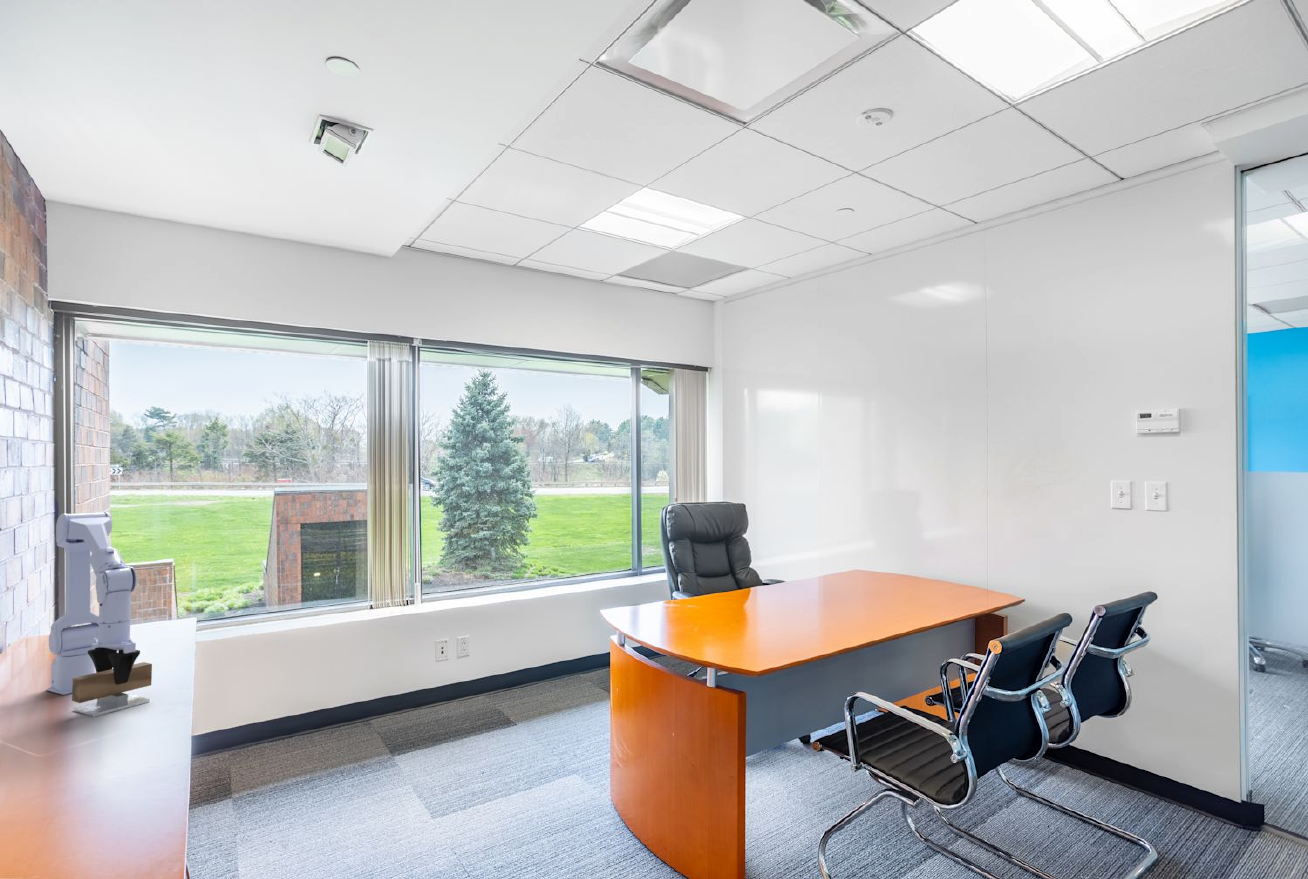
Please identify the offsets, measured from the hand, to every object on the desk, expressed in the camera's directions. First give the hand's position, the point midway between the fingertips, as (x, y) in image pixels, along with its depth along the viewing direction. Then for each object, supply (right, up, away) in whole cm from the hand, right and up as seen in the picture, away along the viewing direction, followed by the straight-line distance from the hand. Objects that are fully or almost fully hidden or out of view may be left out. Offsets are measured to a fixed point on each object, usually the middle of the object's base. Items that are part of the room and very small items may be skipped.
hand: (112, 681), depth 155 cm
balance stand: (0, -6, 0) cm, 6 cm away
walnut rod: (0, -3, 0) cm, 3 cm away
